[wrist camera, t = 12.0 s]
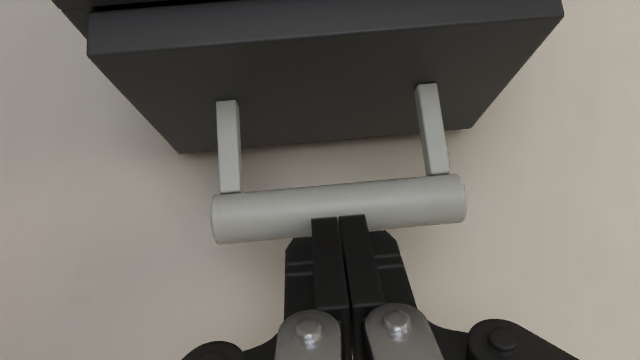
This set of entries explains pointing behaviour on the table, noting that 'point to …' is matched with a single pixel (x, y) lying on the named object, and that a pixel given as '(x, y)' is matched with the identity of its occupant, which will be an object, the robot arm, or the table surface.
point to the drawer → (318, 91)
